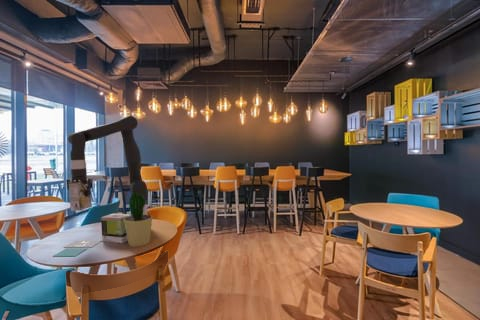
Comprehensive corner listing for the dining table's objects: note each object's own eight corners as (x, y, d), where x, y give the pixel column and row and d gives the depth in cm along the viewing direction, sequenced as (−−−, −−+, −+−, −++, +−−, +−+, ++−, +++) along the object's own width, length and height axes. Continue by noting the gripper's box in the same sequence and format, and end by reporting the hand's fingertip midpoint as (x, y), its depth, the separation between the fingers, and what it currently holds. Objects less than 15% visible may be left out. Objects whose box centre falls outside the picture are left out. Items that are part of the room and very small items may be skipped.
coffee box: (82, 206, 157) (81, 179, 156) (92, 207, 156) (90, 179, 155) (70, 210, 148) (68, 182, 147) (79, 211, 147) (77, 182, 146)
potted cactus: (142, 249, 143) (139, 194, 141) (118, 246, 148) (115, 193, 146) (158, 239, 158) (156, 189, 156) (137, 237, 162) (134, 188, 161)
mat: (87, 248, 146) (87, 248, 146) (75, 256, 136) (75, 255, 136) (66, 248, 146) (66, 248, 146) (52, 256, 136) (52, 256, 136)
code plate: (101, 240, 158) (101, 240, 158) (91, 247, 148) (91, 246, 148) (75, 241, 159) (75, 240, 159) (63, 247, 149) (63, 247, 149)
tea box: (134, 237, 162) (133, 214, 161) (121, 243, 152) (120, 218, 151) (114, 235, 167) (113, 212, 166) (101, 241, 157) (100, 216, 156)
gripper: (94, 167, 154) (96, 195, 155) (70, 167, 155) (72, 195, 156) (86, 168, 147) (88, 197, 148) (61, 168, 147) (63, 198, 148)
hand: (80, 196), depth 152 cm, fingers closed on coffee box, 7 cm apart
